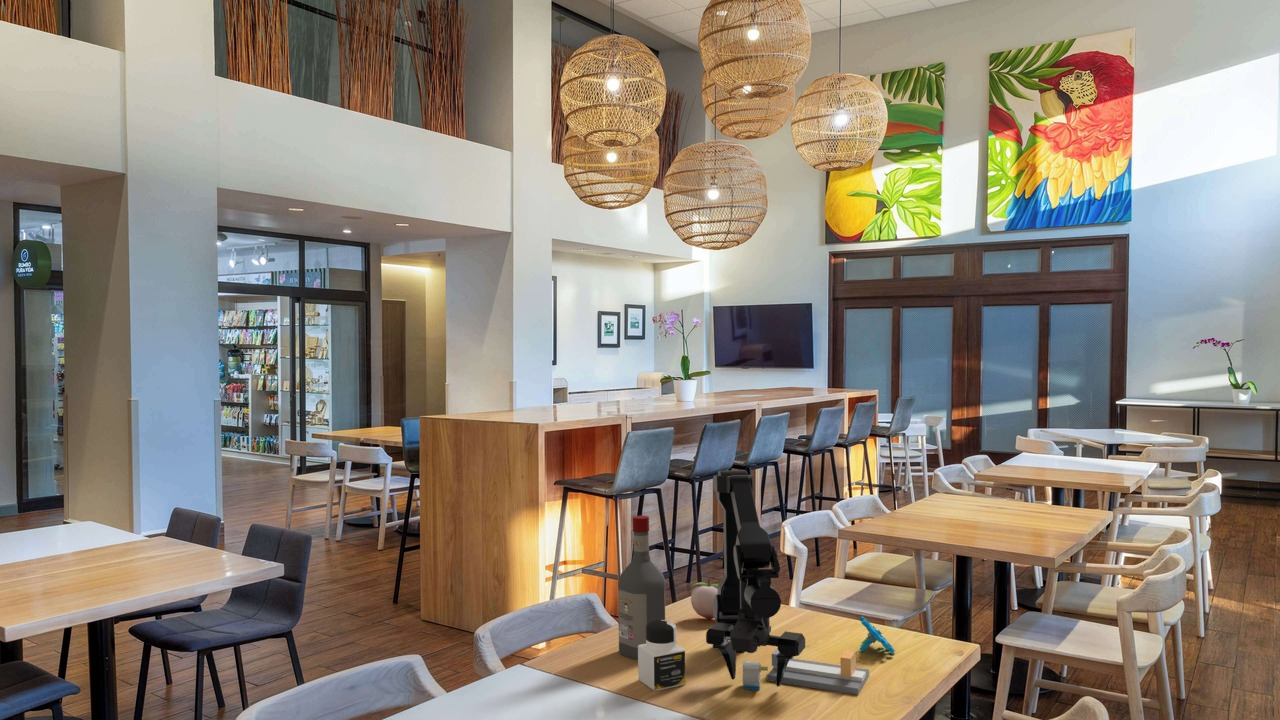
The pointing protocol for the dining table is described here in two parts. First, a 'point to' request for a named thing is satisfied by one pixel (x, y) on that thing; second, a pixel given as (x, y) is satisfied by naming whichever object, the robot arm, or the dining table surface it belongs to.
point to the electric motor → (752, 674)
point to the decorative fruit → (704, 599)
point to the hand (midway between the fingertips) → (755, 682)
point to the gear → (874, 637)
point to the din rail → (819, 675)
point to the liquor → (639, 593)
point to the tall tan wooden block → (848, 663)
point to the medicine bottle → (661, 657)
